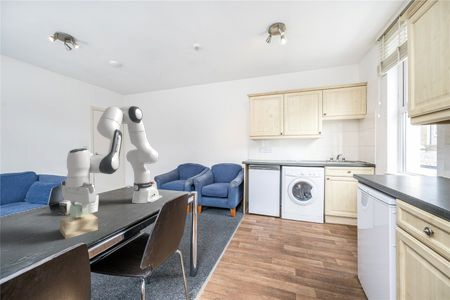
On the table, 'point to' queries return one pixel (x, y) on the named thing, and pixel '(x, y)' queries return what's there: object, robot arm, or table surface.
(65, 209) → the medicine bottle
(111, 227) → the table surface
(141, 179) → the robot arm
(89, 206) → the white cup
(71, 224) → the beech block
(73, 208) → the sage cube
